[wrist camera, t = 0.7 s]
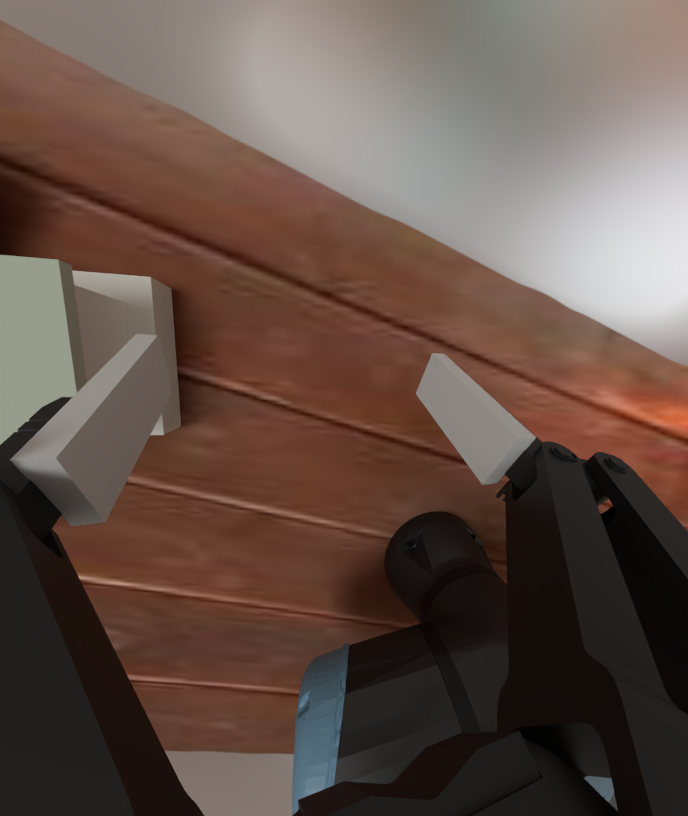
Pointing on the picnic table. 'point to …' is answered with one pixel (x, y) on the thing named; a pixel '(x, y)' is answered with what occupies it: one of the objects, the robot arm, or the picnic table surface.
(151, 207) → the picnic table surface
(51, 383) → the plant stand
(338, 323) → the picnic table surface
